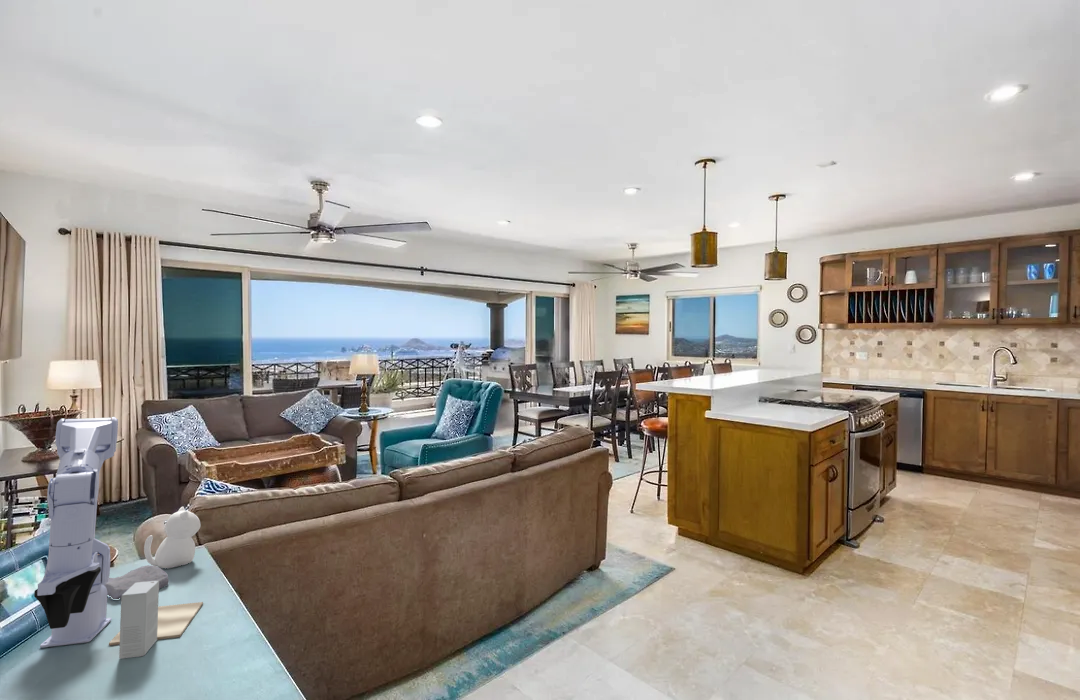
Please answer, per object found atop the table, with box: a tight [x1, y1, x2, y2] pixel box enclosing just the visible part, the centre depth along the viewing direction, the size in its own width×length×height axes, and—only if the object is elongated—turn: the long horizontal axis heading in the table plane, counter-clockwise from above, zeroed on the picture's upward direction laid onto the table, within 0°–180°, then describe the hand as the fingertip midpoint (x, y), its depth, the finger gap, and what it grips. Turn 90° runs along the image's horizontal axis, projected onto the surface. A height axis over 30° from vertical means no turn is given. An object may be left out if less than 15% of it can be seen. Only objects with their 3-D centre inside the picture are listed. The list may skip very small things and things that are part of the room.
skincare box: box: [118, 581, 160, 660], centre depth 101 cm, size 6×4×12 cm
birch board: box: [108, 601, 204, 646], centre depth 111 cm, size 15×12×1 cm
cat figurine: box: [143, 506, 201, 569], centre depth 142 cm, size 9×12×15 cm
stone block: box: [104, 564, 169, 599], centre depth 126 cm, size 12×5×10 cm
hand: (67, 619), depth 91 cm, fingers open, 5 cm apart
